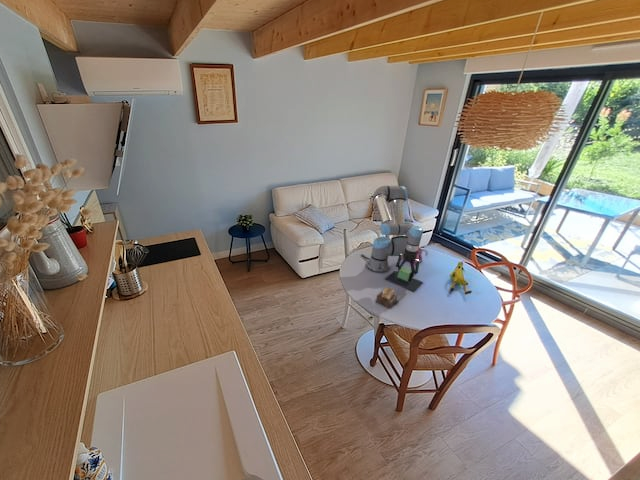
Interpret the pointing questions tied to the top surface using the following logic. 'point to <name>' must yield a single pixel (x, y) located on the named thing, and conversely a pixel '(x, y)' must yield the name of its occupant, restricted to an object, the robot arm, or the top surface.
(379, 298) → the walnut block
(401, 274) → the green block
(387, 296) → the beech block
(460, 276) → the figurine
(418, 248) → the toy
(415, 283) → the mat
